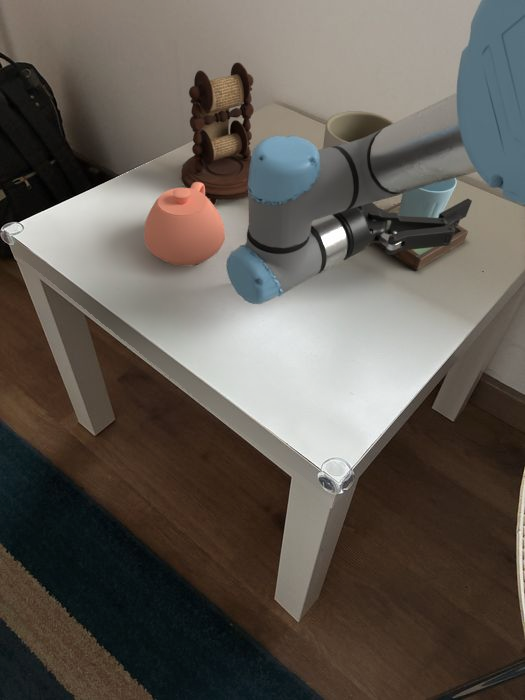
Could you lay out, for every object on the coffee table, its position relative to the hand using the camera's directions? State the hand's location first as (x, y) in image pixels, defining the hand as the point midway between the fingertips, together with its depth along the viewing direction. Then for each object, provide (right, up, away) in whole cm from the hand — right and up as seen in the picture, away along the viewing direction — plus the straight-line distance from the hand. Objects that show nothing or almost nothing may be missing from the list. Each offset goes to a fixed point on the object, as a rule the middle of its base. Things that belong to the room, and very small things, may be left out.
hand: (430, 186), depth 82 cm
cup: (-1, -6, +7) cm, 9 cm away
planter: (-9, +5, +17) cm, 20 cm away
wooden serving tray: (-1, -6, +7) cm, 10 cm away
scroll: (-33, +5, +15) cm, 37 cm away
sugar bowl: (-38, -9, +3) cm, 39 cm away
